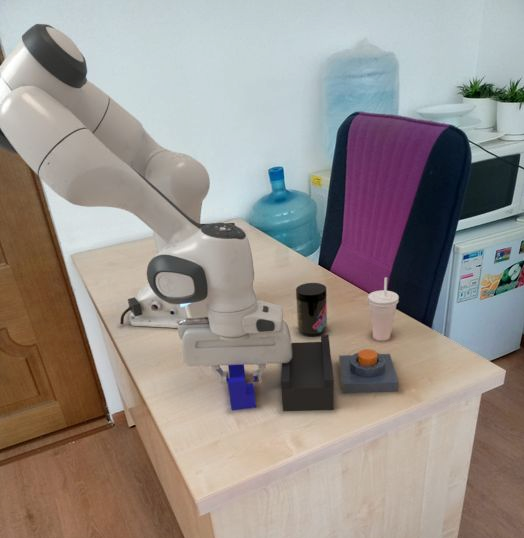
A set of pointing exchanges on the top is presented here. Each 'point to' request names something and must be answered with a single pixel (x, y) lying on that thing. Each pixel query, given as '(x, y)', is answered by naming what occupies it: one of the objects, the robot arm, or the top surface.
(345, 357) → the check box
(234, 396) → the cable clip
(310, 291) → the supplement container
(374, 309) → the smoothie
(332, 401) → the inspection stand
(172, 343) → the top surface
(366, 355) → the button
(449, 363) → the top surface
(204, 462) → the top surface
